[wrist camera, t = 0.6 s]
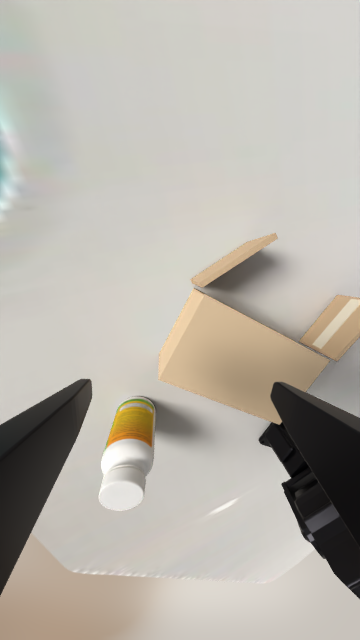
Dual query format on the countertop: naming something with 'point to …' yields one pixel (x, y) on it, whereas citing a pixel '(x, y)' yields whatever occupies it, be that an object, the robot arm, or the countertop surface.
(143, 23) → the countertop surface
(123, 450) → the supplement bottle
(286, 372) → the carton
